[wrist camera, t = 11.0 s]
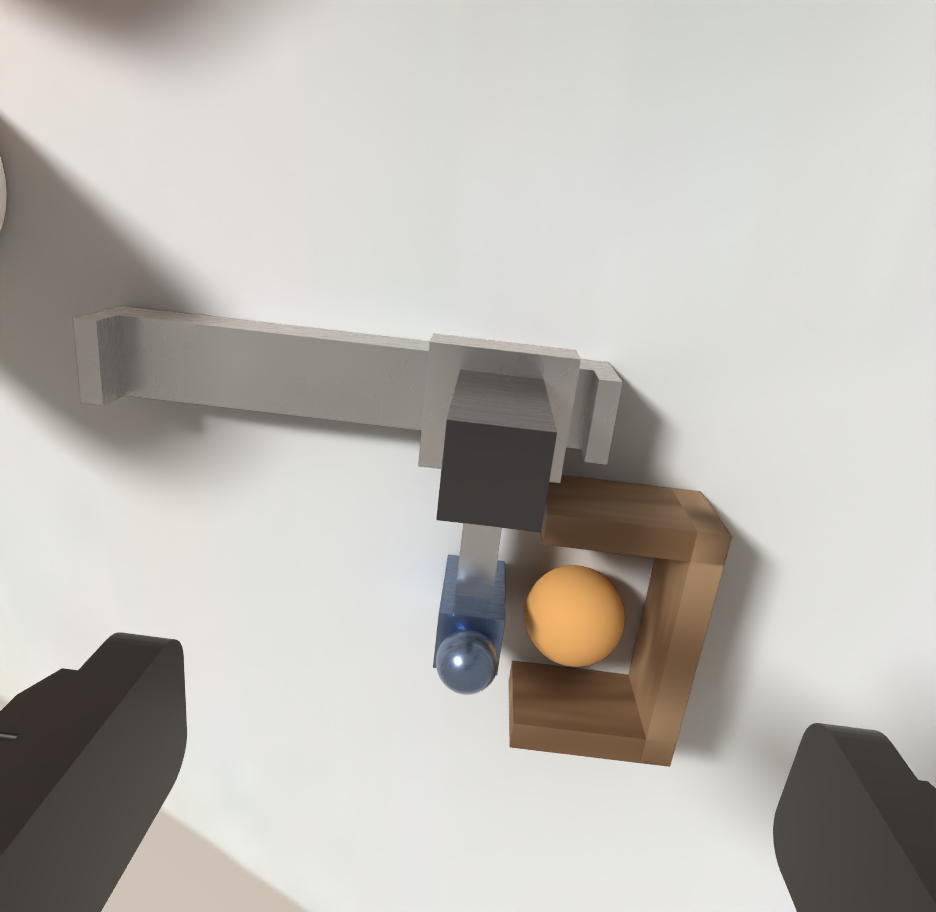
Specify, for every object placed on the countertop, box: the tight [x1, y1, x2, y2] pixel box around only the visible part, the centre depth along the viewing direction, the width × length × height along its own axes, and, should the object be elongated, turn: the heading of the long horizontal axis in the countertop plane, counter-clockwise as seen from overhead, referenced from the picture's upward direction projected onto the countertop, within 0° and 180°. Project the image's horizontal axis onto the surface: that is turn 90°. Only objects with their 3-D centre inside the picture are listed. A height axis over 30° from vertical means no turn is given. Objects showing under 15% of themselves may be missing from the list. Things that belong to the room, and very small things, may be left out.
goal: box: [509, 475, 732, 767], centre depth 27 cm, size 10×6×4 cm, turn 174°
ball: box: [525, 565, 625, 667], centre depth 27 cm, size 4×4×4 cm
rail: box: [73, 306, 623, 465], centre depth 25 cm, size 3×19×3 cm, turn 84°
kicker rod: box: [418, 334, 581, 694], centre depth 23 cm, size 12×5×9 cm, turn 174°
